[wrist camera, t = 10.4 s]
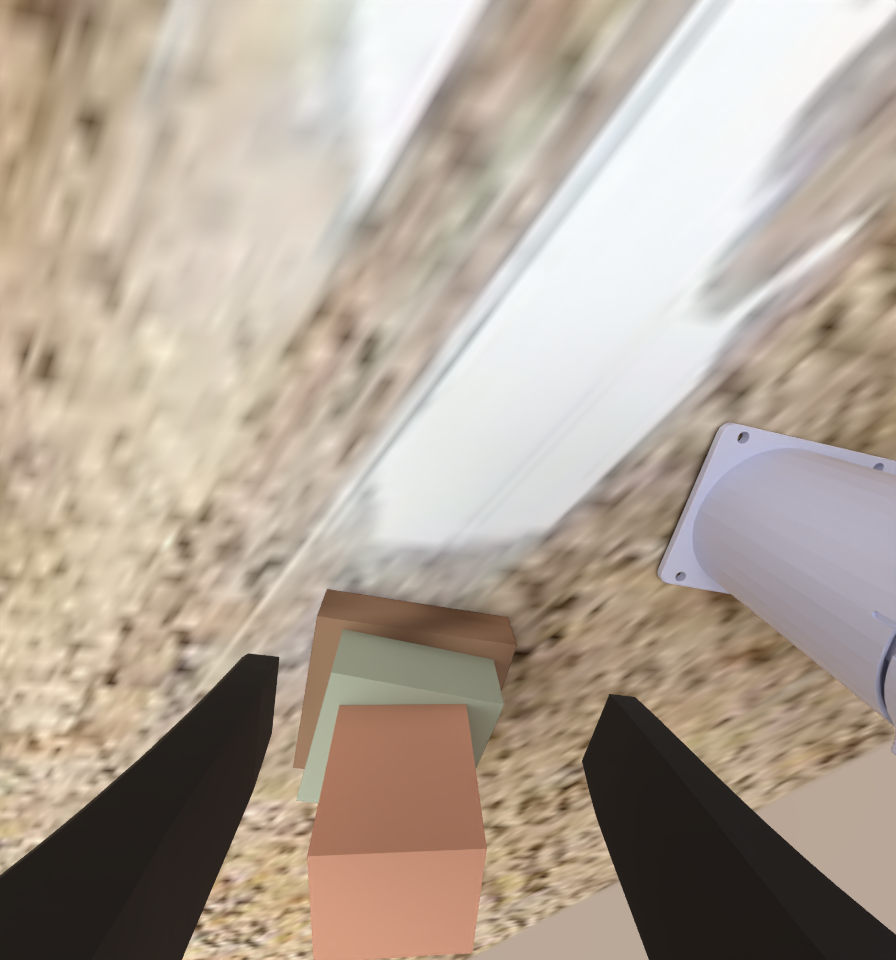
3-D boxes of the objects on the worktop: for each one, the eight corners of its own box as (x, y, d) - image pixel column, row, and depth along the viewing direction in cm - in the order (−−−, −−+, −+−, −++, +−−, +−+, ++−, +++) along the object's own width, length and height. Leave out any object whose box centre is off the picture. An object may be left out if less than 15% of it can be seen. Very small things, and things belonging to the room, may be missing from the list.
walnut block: (505, 611, 21) (516, 645, 19) (464, 740, 24) (469, 784, 22) (328, 583, 20) (317, 616, 18) (305, 723, 23) (293, 767, 20)
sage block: (493, 659, 19) (504, 704, 17) (448, 767, 21) (452, 821, 19) (342, 628, 18) (331, 672, 16) (310, 746, 20) (296, 800, 18)
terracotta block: (466, 704, 17) (486, 848, 12) (457, 792, 18) (472, 952, 13) (339, 705, 16) (307, 856, 11) (341, 796, 18) (313, 963, 13)
